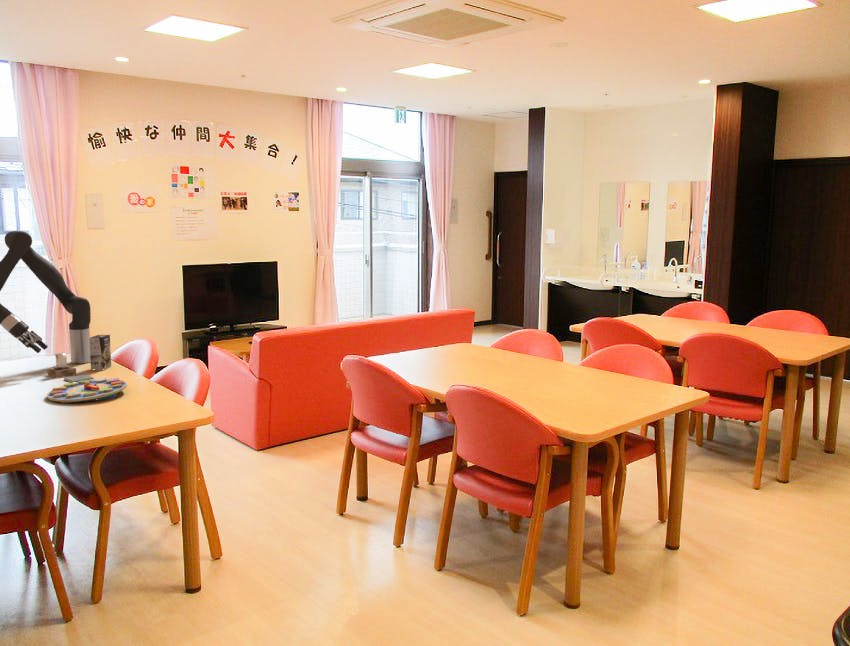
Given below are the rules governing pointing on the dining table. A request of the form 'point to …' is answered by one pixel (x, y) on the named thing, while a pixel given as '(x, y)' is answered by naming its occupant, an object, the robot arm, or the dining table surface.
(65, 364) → the metal cylinder
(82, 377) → the slate tile
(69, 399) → the shape sorting clock
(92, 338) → the coffee box
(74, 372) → the pocket block
